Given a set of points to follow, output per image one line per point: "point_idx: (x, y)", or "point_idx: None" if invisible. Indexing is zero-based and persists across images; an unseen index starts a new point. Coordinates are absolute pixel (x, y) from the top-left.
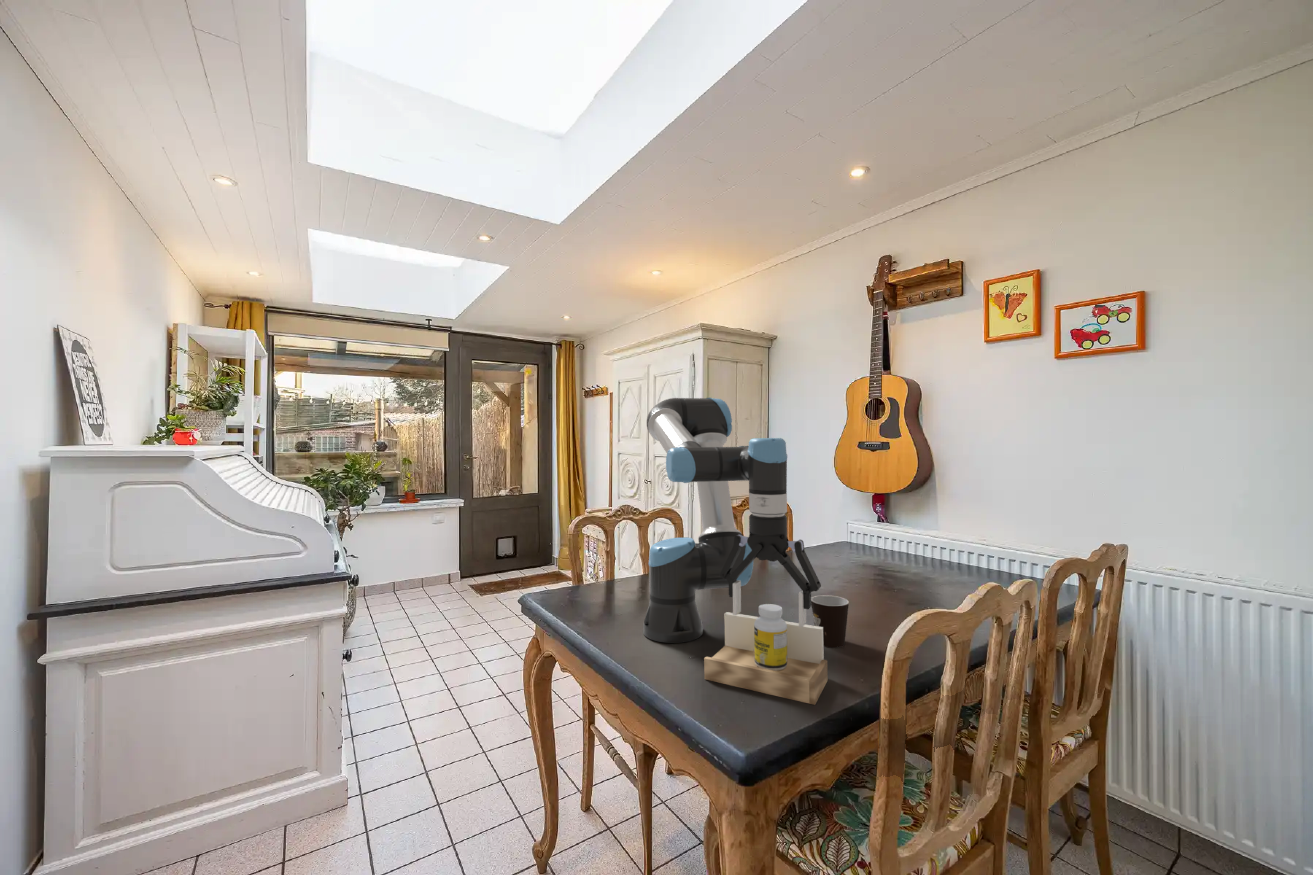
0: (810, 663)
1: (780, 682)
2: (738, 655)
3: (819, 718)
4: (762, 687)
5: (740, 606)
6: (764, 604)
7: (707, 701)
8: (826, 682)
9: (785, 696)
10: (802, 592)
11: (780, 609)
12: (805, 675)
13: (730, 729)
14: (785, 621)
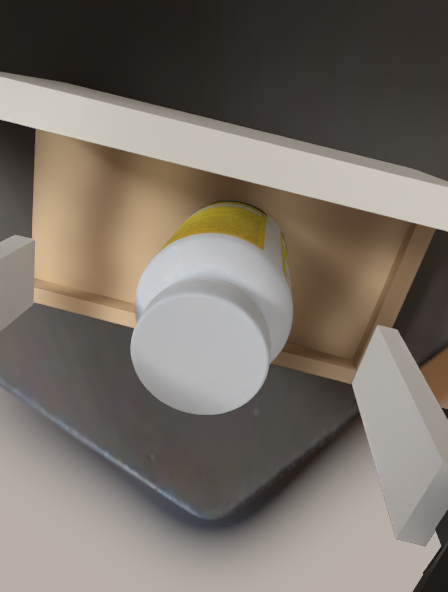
0: None
1: None
2: (110, 196)
3: (357, 406)
4: None
5: (18, 257)
6: (156, 313)
7: (99, 381)
8: None
9: None
10: (429, 527)
11: (259, 384)
12: (344, 304)
13: (174, 467)
14: (285, 150)
